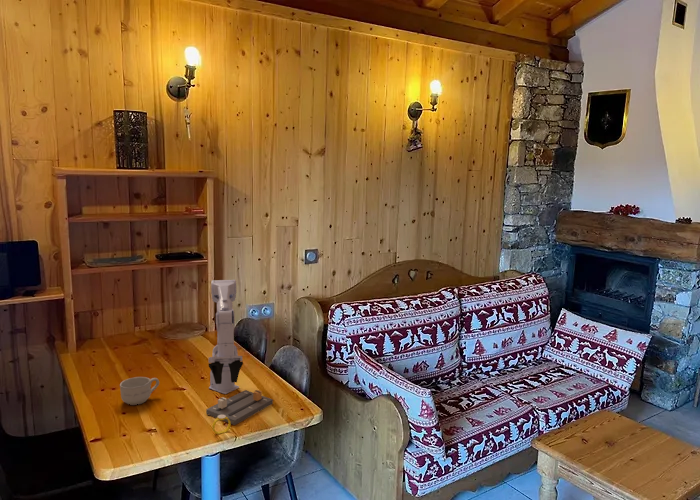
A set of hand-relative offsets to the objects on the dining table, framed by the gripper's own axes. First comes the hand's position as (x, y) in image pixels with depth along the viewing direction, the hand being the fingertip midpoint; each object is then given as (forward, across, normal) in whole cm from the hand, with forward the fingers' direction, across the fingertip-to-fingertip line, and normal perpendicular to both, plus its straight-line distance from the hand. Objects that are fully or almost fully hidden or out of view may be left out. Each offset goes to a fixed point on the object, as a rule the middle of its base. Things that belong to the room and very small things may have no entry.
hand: (226, 383), depth 183 cm
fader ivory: (+8, +4, +7) cm, 12 cm away
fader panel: (+10, +11, +4) cm, 15 cm away
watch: (+16, -4, -2) cm, 17 cm away
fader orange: (+7, +16, 0) cm, 18 cm away
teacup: (+5, -6, +39) cm, 40 cm away
